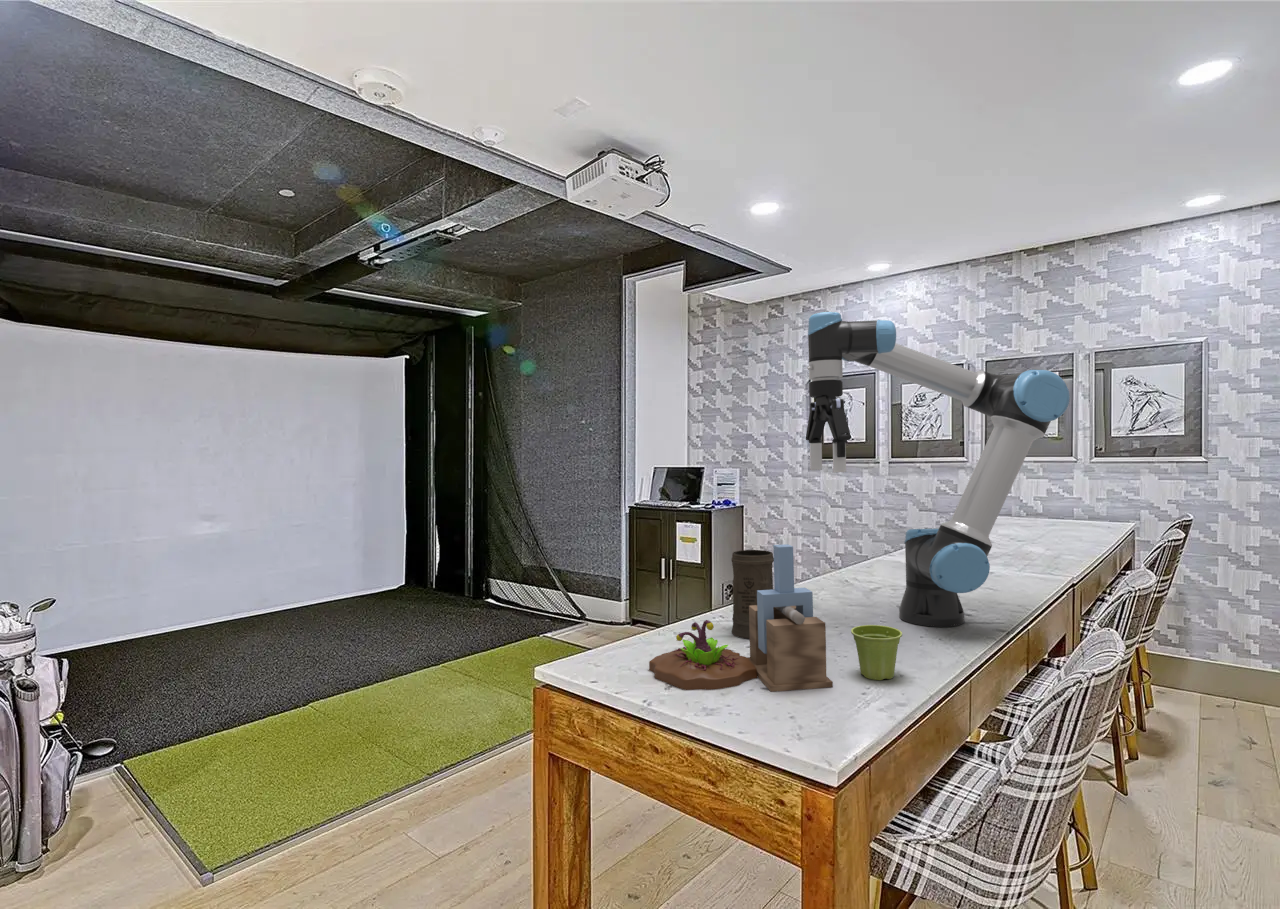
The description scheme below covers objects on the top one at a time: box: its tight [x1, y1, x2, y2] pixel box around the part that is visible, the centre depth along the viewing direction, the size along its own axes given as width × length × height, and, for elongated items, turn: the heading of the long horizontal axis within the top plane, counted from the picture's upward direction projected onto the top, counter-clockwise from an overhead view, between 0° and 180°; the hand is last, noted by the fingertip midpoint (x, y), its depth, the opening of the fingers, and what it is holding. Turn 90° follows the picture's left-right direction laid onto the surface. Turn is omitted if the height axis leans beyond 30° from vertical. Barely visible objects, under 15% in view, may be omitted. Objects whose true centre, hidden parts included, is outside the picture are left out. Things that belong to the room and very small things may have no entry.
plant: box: [648, 619, 758, 691], centre depth 137 cm, size 20×20×11 cm
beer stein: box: [731, 549, 774, 640], centre depth 166 cm, size 15×11×20 cm
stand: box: [746, 605, 834, 693], centre depth 135 cm, size 12×17×14 cm
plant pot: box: [850, 624, 903, 681], centre depth 133 cm, size 9×9×9 cm
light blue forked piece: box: [757, 543, 814, 654], centre depth 135 cm, size 10×4×20 cm, turn 97°
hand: (827, 471), depth 160 cm, fingers open, 13 cm apart
